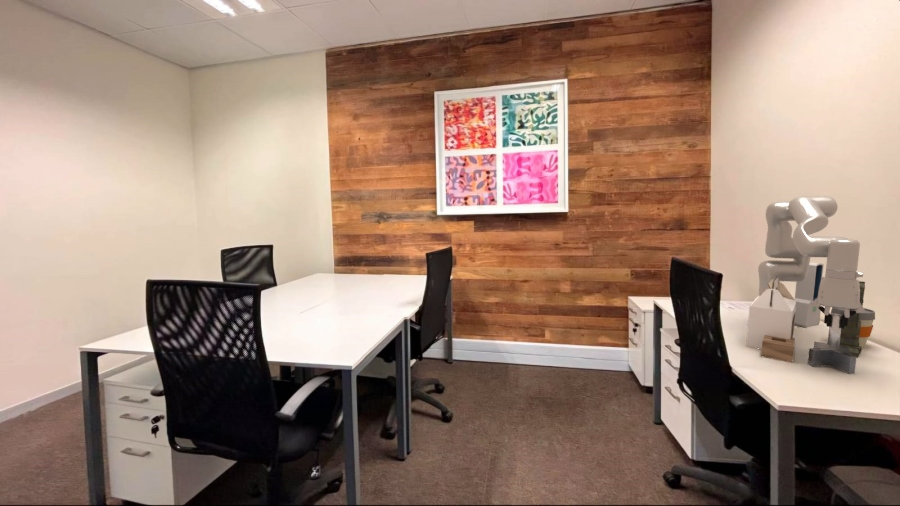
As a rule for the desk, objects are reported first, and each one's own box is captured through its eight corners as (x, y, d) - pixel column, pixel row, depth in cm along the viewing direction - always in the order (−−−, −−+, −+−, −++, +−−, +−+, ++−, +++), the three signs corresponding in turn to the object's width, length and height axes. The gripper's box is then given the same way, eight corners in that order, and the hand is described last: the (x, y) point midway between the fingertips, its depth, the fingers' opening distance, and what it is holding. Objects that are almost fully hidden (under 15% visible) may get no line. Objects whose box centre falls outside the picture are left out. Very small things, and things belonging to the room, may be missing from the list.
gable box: (753, 334, 174) (758, 273, 171) (792, 340, 165) (799, 276, 162) (746, 347, 158) (751, 280, 155) (788, 355, 149) (795, 284, 146)
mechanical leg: (835, 341, 160) (842, 274, 151) (860, 345, 155) (870, 277, 146) (833, 358, 151) (841, 288, 142) (860, 363, 146) (870, 291, 137)
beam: (763, 347, 157) (765, 333, 156) (793, 353, 151) (794, 338, 150) (761, 356, 148) (762, 341, 147) (792, 362, 142) (794, 346, 141)
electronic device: (806, 328, 179) (812, 264, 176) (786, 323, 186) (792, 262, 183) (820, 324, 184) (827, 262, 181) (801, 320, 191) (807, 260, 187)
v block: (807, 355, 148) (809, 340, 147) (851, 363, 140) (853, 348, 139) (807, 365, 139) (809, 349, 138) (854, 374, 131) (856, 357, 130)
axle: (827, 343, 137) (830, 312, 136) (839, 344, 135) (842, 314, 134) (827, 345, 135) (830, 314, 134) (839, 347, 133) (842, 316, 132)
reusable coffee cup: (832, 337, 167) (835, 303, 165) (874, 345, 157) (879, 309, 155) (823, 343, 160) (827, 308, 158) (867, 352, 150) (872, 315, 148)
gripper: (874, 276, 130) (868, 329, 132) (808, 271, 141) (803, 320, 143) (877, 279, 124) (870, 334, 126) (808, 273, 135) (803, 324, 137)
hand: (835, 326), depth 135 cm, fingers closed on axle, 3 cm apart
